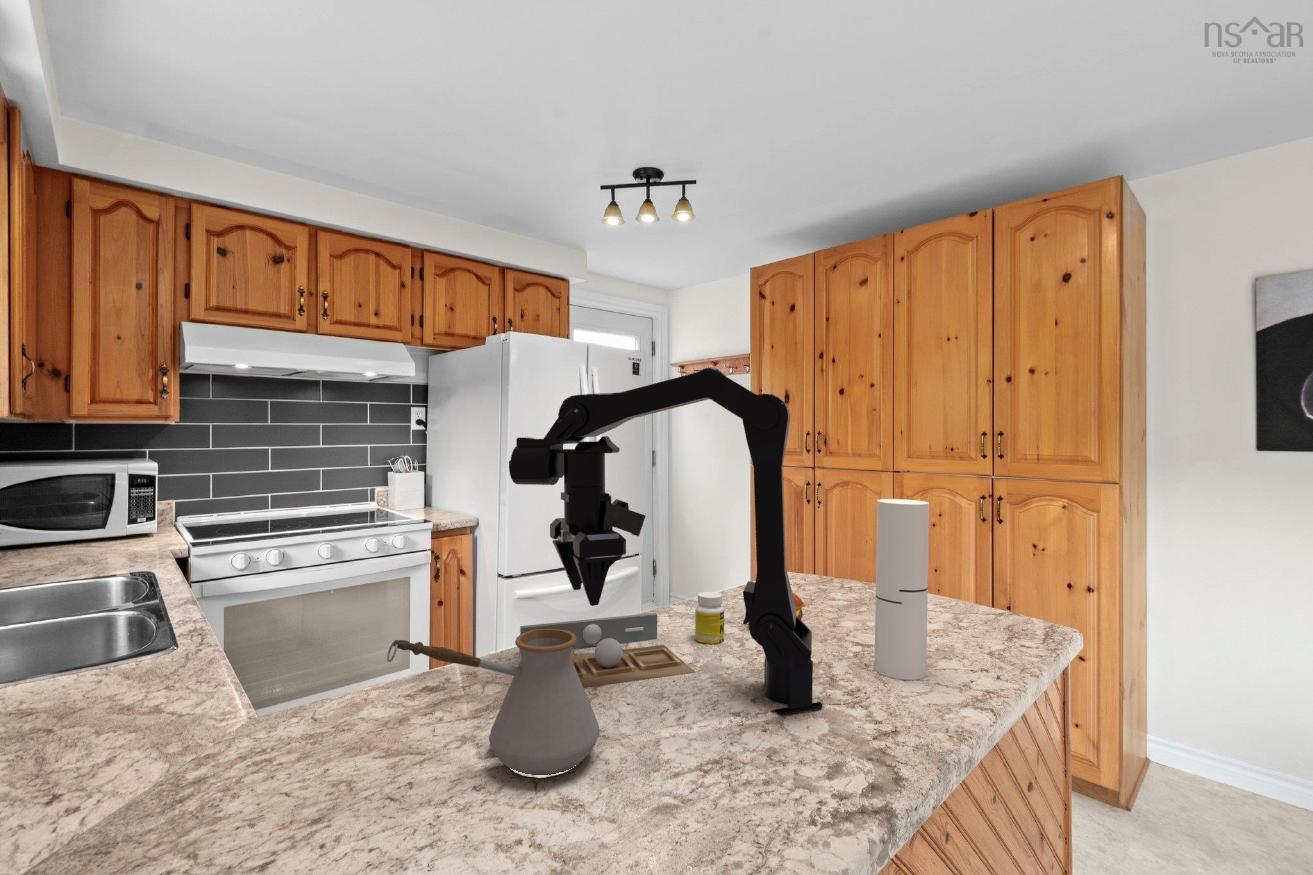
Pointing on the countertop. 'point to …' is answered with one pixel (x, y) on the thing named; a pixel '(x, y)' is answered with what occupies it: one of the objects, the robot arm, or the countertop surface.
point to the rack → (631, 666)
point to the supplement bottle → (709, 619)
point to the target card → (605, 629)
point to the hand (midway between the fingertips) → (585, 597)
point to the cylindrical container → (901, 588)
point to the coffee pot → (534, 703)
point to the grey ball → (608, 652)
